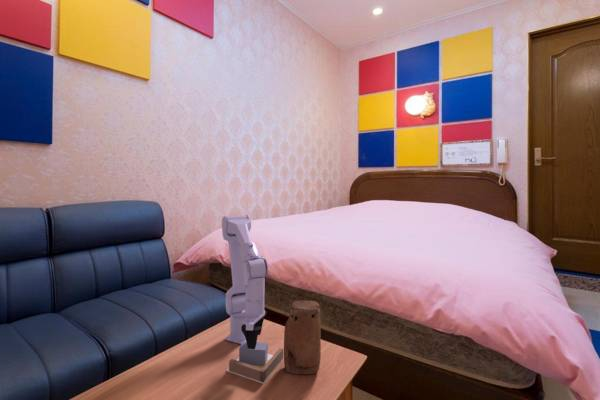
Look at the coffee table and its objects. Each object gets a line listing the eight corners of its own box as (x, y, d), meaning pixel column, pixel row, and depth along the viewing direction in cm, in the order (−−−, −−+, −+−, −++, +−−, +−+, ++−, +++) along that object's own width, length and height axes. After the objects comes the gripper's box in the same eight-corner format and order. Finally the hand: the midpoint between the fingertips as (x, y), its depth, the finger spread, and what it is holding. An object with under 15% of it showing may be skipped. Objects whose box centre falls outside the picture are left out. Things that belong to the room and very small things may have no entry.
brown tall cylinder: (317, 360, 91) (319, 298, 90) (321, 376, 84) (322, 309, 82) (283, 361, 90) (284, 299, 89) (283, 377, 83) (284, 310, 81)
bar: (267, 357, 91) (267, 342, 90) (265, 366, 87) (265, 350, 86) (242, 356, 91) (242, 341, 91) (239, 364, 87) (239, 348, 87)
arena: (249, 349, 96) (249, 339, 96) (283, 359, 91) (283, 348, 91) (226, 371, 85) (226, 360, 85) (263, 383, 80) (263, 372, 80)
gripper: (247, 288, 95) (247, 328, 96) (235, 308, 81) (235, 354, 82) (268, 289, 95) (268, 329, 96) (260, 309, 80) (259, 355, 81)
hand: (254, 341), depth 89 cm, fingers open, 7 cm apart
